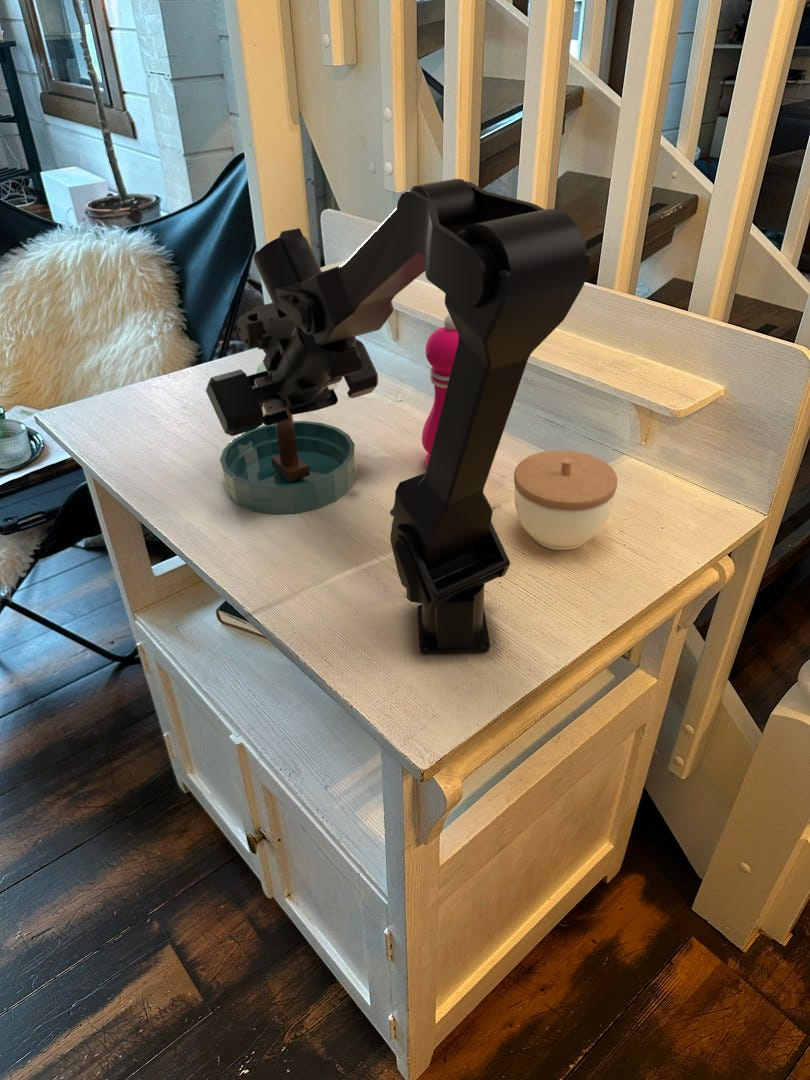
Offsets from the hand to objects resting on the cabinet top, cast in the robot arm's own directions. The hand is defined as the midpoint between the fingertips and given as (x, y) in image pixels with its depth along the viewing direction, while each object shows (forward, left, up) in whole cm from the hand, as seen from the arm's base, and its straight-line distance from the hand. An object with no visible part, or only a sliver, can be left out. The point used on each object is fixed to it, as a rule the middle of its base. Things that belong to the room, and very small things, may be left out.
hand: (278, 414), depth 91 cm
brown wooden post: (-1, -1, -7) cm, 7 cm away
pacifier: (+28, +5, -9) cm, 30 cm away
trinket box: (-15, -32, -9) cm, 36 cm away
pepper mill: (0, -21, -9) cm, 23 cm away
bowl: (-2, -1, -9) cm, 9 cm away
